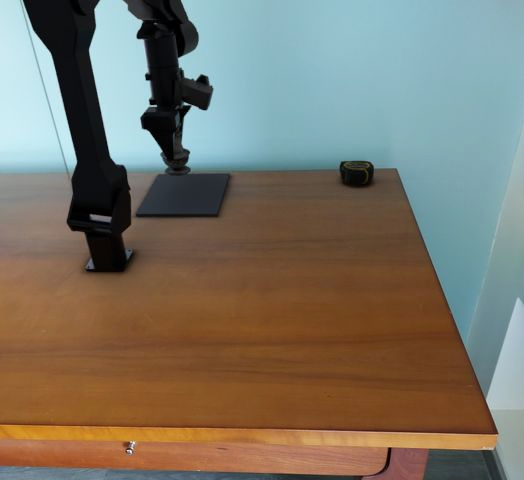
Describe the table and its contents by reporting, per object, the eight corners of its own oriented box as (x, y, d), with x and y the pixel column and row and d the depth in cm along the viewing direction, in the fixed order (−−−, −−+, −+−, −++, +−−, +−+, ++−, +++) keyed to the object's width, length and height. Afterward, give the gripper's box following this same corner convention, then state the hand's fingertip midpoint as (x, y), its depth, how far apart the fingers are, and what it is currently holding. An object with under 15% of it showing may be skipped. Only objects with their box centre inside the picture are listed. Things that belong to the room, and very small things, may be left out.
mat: (217, 216, 101) (217, 213, 100) (135, 216, 102) (135, 213, 101) (229, 175, 116) (229, 173, 116) (158, 176, 117) (158, 173, 117)
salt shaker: (190, 164, 108) (182, 101, 101) (193, 174, 104) (186, 110, 96) (161, 167, 107) (152, 104, 100) (164, 178, 103) (154, 113, 95)
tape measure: (370, 175, 113) (372, 157, 111) (374, 188, 108) (376, 170, 106) (338, 175, 114) (339, 158, 111) (340, 188, 109) (342, 170, 106)
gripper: (199, 76, 86) (208, 170, 96) (214, 52, 100) (221, 137, 110) (132, 77, 86) (148, 171, 96) (157, 54, 101) (169, 137, 111)
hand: (174, 153), depth 103 cm, fingers closed on salt shaker, 7 cm apart
